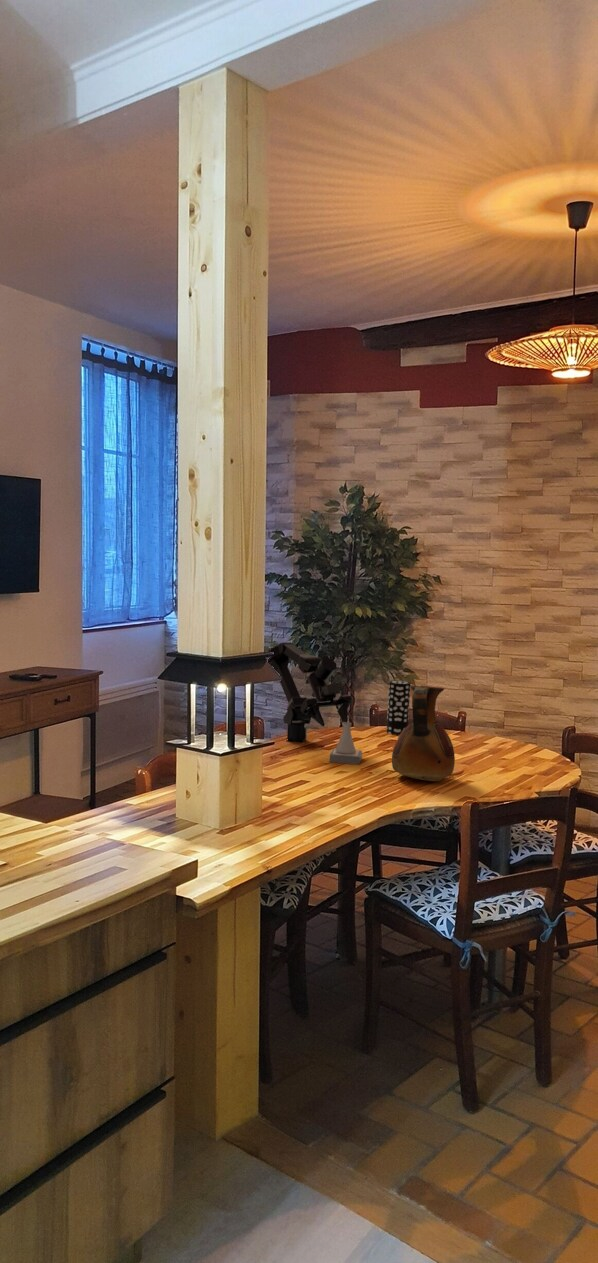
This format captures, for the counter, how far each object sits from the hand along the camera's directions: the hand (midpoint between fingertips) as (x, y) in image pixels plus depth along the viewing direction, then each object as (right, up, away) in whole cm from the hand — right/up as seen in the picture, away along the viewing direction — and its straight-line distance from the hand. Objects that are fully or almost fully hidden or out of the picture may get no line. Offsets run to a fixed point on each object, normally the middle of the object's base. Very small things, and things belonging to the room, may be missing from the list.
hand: (335, 724), depth 319 cm
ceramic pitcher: (+26, -15, -27) cm, 40 cm away
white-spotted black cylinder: (+26, -8, +45) cm, 53 cm away
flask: (+3, -9, -6) cm, 11 cm away
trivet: (+3, -11, -6) cm, 13 cm away
